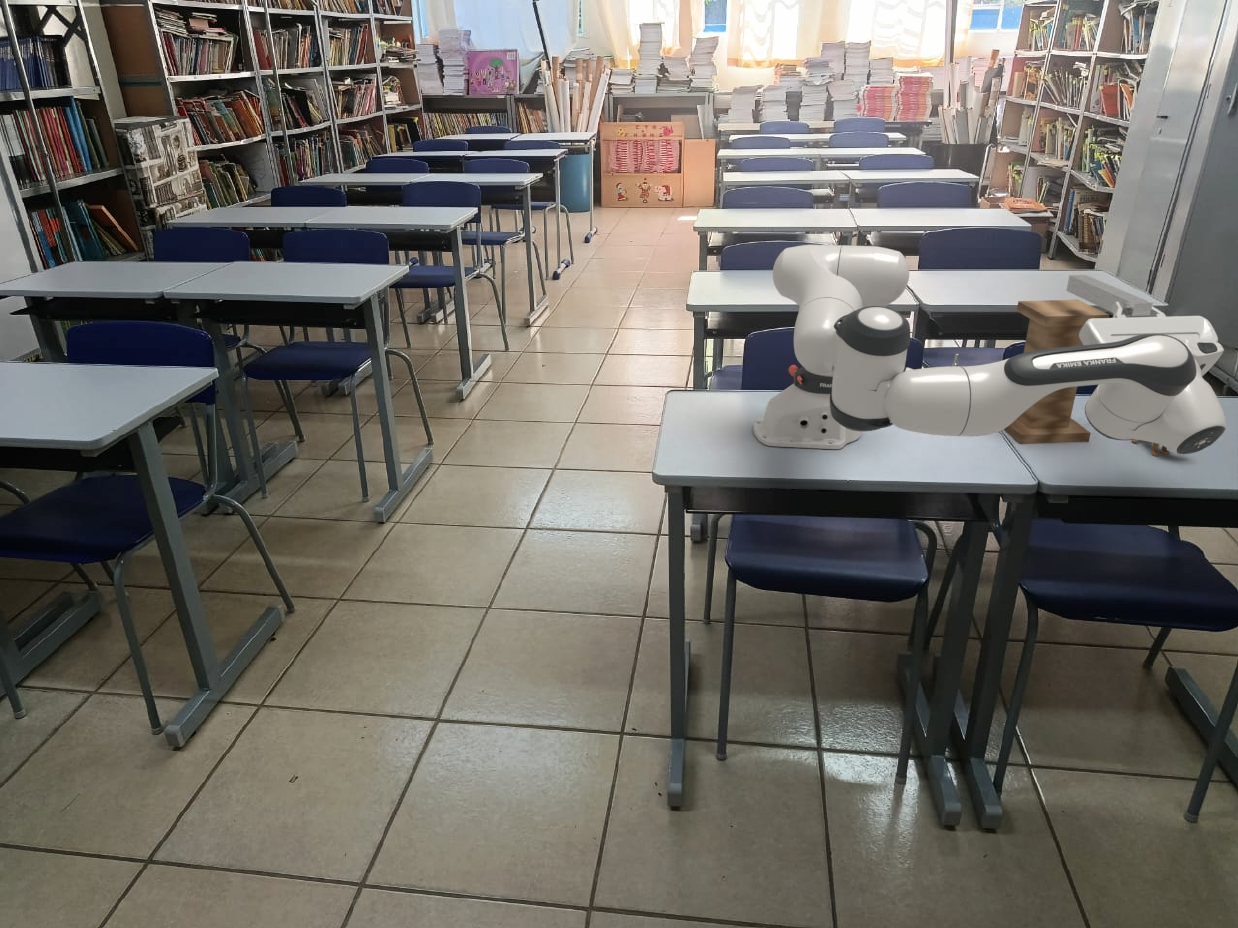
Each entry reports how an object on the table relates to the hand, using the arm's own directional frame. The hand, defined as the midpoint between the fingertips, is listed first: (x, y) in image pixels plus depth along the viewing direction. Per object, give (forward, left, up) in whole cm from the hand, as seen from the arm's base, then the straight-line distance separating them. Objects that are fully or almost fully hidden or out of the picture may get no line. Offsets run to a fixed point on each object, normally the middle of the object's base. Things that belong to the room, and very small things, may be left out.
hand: (1129, 304), depth 142 cm
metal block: (0, +7, -2) cm, 7 cm away
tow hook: (-13, +36, -32) cm, 50 cm away
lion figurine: (+17, +9, -32) cm, 38 cm away
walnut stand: (-1, +20, -32) cm, 38 cm away
